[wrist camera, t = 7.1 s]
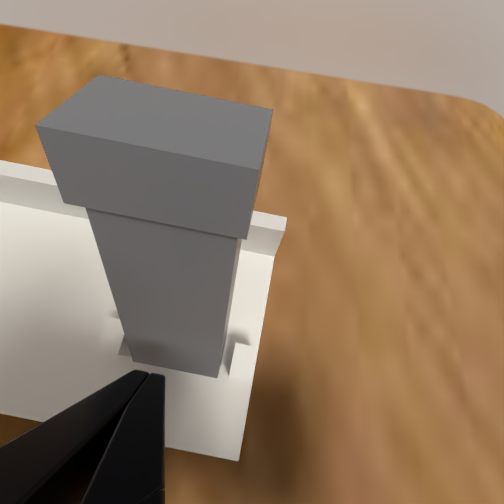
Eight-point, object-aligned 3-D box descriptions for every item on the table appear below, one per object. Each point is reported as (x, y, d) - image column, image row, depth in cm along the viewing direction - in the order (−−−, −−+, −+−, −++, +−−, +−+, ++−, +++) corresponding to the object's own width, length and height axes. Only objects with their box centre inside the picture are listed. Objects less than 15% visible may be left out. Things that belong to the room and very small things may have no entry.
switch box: (236, 444, 15) (241, 487, 10) (-164, 364, 15) (-388, 360, 10) (269, 259, 19) (287, 211, 13) (-63, 193, 19) (-189, 116, 13)
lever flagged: (219, 393, 13) (258, 169, 5) (126, 374, 13) (35, 124, 5) (230, 341, 14) (273, 109, 7) (147, 324, 14) (98, 74, 7)
